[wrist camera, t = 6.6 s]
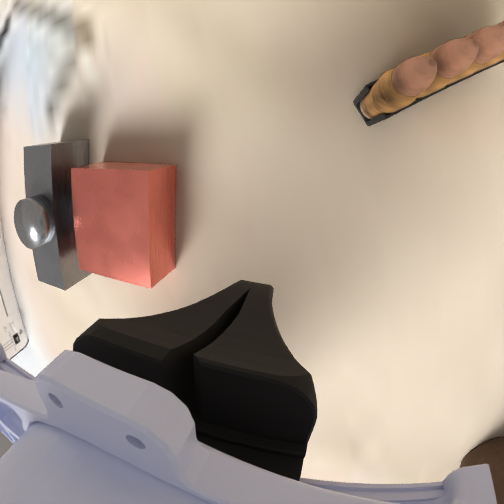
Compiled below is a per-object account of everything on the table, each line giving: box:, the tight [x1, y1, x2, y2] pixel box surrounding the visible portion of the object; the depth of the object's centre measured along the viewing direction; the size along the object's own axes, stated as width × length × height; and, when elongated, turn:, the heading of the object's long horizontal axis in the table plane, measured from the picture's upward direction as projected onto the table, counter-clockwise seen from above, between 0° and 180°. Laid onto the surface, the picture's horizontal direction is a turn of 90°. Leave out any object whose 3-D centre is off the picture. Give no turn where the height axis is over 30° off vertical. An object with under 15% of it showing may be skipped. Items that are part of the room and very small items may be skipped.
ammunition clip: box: [353, 21, 504, 126], centre depth 10 cm, size 11×2×12 cm, turn 123°
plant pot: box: [460, 437, 504, 504], centre depth 17 cm, size 15×15×16 cm
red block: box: [71, 162, 176, 288], centre depth 21 cm, size 8×7×4 cm
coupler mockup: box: [14, 140, 91, 290], centre depth 21 cm, size 12×11×6 cm
